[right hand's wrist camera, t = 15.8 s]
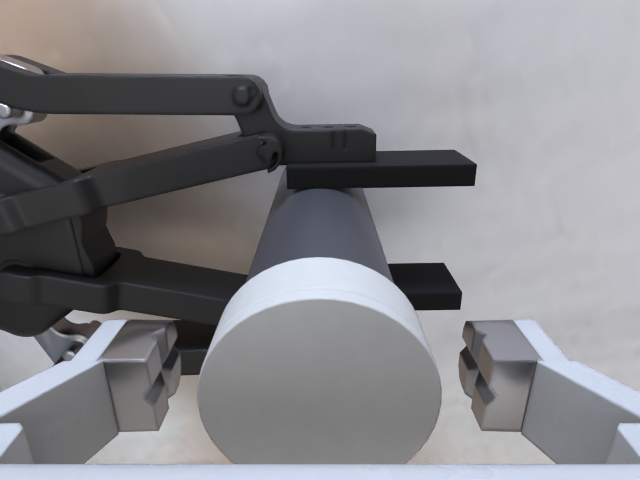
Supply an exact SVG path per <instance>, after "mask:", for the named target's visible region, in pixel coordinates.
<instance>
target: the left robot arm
mask: <svg viewBox="0 0 640 480" xmlns="http://www.w3.org/2000/svg"><path fill="white" fill-rule="evenodd" d="M47 114H141V115H235V117H236V120H237V122H238V124H239V126H240V129H241V131H239V132H235V133H231V134H227V135H223V136H219V137H215V138H211V139H207V140H203V141H199V142H195V143H191V144H187V145H182V146H178V147H174V148H170V149H166V150H162V151H158V152H154V153H150V154H146V155H142V156H138V157H134V158H130V159H125V160H121V161H112V162H108V163H104V164H100V165H96V166H92V167H88V168H84V169H80V170H77V169H75V168H73V167H72V166H70V165H68V164H67V163H65V162H63V161H62V160H60V159H58V158H57V157H55V156H53V155H52V154H50V153H48V152H47V151H45V150H43V149H42V148H40V147H38V146H37V145H35V144H33V143H32V142H30V141H28V140H27V139H25V138H23V137H22V136H20V135H18V134H17V133H15V129H16V127H17V126H18V125H26V124H31V123H36V122H40V121H42V120H44V119H45V118H46V116H47ZM279 165H287V167H286V176H287V189H329V188H384V187H440V186H474V185H475V177H476V168H477V164H475V163H474V162H472V161H471V160H469V159H468V158H466V157H465V156H463V155H462V154H460V153H459V152H457V151H455V150H420V151H376V134H375V133H374V131H373V130H372V129H370V128H368V127H365V126H363V125H360V124H333V125H331V124H326V125H292V124H289V123H286V122H285V121H283V120H282V119H281V118H280V117H279V116H278V114H277V112H276V110H275V107H274V105H273V102H272V100H271V98H270V95H269V91H268V86H267V84H266V83H265V81H264V80H263V79H262V78H260V77H259V76H256V75H234V74H103V73H65V72H62V71H59V70H57V69H54V68H51V67H49V66H46V65H43V64H40V63H38V62H35V61H32V60H30V59H27V58H24V57H21V56H16V55H0V329H1V330H3V331H6V332H9V333H11V334H14V335H17V336H22V337H31V336H34V337H35V339H36V340H37V341H38V343H39V344H40V345H41V347H42V348H43V349H44V350H45V352H46V353H47V354H48V356H49V357H50V358H51V359H52V361H53V362H54V363H55V364H54V365H57V364H59V363H61V362H63V361H71V360H72V359H73V358H74V356H75V355H76V354H77V353H78V352H79V350H80V349H81V348H82V347H83V346H84V345H85V343H86V342H87V341H88V340H89V339H90V337H91V336H92V335H93V334H94V333H95V332H96V330H97V329H98V328H99V327H100V326H101V323H100V322H99V321H95V320H94V321H91V322H90V323H83V324H76V323H72V322H70V321H68V320H67V319H66V318H65V316H66V315H67V314H69V313H70V312H71V311H73V310H80V311H86V312H92V313H98V314H106V313H111V312H114V311H117V310H126V311H132V312H138V313H144V314H150V315H156V316H162V317H168V318H174V319H180V320H173V322H174V323H175V324H176V329H177V335H178V337H177V339H176V341H175V343H174V345H173V346H174V347H175V348H176V349H177V350H178V351H179V352H180V355H181V375H200V371H201V368H202V365H203V362H204V360H205V357H206V355H207V352H208V349H209V347H210V344H211V342H212V339H213V337H214V334H215V331H216V329H217V326H218V324H219V321H220V319H221V316H222V314H223V312H224V310H225V308H226V306H227V305H228V303H229V301H230V300H231V298H232V297H233V296H234V295H235V294H236V292H237V291H238V290H239V289H240V288H241V287H242V286H243V285H244V284H245V283H246V280H247V277H248V275H244V274H238V273H232V272H227V271H221V270H215V269H210V268H204V267H198V266H192V265H187V264H181V263H175V262H170V261H164V260H158V259H153V258H147V257H144V256H143V255H142V253H141V252H139V251H137V250H132V249H126V248H121V247H115V243H114V241H113V239H112V237H111V235H110V233H109V231H108V229H107V227H106V220H107V207H108V206H113V205H117V204H121V203H125V202H129V201H134V200H138V199H142V198H146V197H151V196H155V195H159V194H163V193H167V192H172V191H176V190H180V189H184V188H189V187H193V186H197V185H201V184H205V183H210V182H214V181H218V180H222V179H227V178H231V177H235V176H239V175H243V174H248V173H252V172H256V171H260V170H265V169H268V173H270V172H272V171H274V170H275V169H276V168H277V167H278V166H279ZM388 267H389V270H390V273H391V276H392V279H393V282H394V284H395V285H396V286H397V287H398V288H399V289H400V290H401V291H402V292H403V294H404V295H405V296H406V297H407V299H408V300H409V302H410V303H411V304H412V306H413V308H414V310H460V307H461V298H462V292H461V290H460V288H459V287H458V285H457V284H456V282H455V280H454V279H453V277H452V275H451V274H450V272H449V271H448V269H447V267H446V266H445V264H444V263H404V264H388ZM54 365H53V366H54Z"/></svg>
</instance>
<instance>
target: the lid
mask: <svg viewBox="0 0 640 480" xmlns="http://www.w3.org/2000/svg"><path fill="white" fill-rule="evenodd" d="M441 394H442V389H441V381H440V376H439V373H438V369H437V366H436V363H435V360H434V358H433V355H432V353H431V350H430V347H429V345H428V342H427V340H426V337H425V334H424V332H423V329H422V327H421V324H420V321H419V319H418V316H417V314H416V312H415V310H414V308H413V306H412V304H411V303H410V302H409V300H408V299H407V297H406V296H405V295H404V294H403V292H402V291H401V290H400V289H399V288H398V287H397V286H396V285H395V284H393V283H392V282H391V281H390V280H388V279H387V278H386V277H384V276H383V275H381V274H379V273H378V272H376V271H374V270H372V269H370V268H368V267H365V266H363V265H361V264H358V263H354V262H351V261H348V260H342V259H336V258H325V257H313V258H302V259H297V260H292V261H288V262H285V263H281V264H278V265H275V266H273V267H271V268H269V269H267V270H265V271H263V272H261V273H259V274H258V275H256V276H255V277H253V278H252V279H250V280H249V281H248V282H247V283H246V284H244V285H243V286H242V287H241V288H240V289H239V290H238V291H237V292H236V294H235V295H234V296H233V297H232V298H231V300H230V301H229V303H228V305H227V306H226V308H225V310H224V312H223V314H222V316H221V319H220V321H219V324H218V326H217V329H216V331H215V334H214V337H213V339H212V342H211V344H210V347H209V349H208V352H207V355H206V357H205V360H204V362H203V365H202V368H201V371H200V375H199V379H198V387H197V400H198V408H199V412H200V416H201V420H202V422H203V425H204V427H205V430H206V431H207V433H208V435H209V437H210V438H211V440H212V441H213V443H214V444H215V445H216V447H217V448H218V449H219V450H220V451H221V452H222V453H223V454H224V455H225V456H226V457H227V458H228V459H229V460H230V461H231V462H232V463H234V464H405V463H406V462H408V461H409V460H410V459H411V458H412V457H413V456H414V455H415V454H416V453H417V452H418V451H419V450H420V449H421V448H422V446H423V445H424V444H425V442H426V441H427V440H428V438H429V436H430V435H431V433H432V431H433V429H434V427H435V424H436V422H437V419H438V416H439V411H440V406H441Z"/></svg>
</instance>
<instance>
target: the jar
mask: <svg viewBox="0 0 640 480" xmlns="http://www.w3.org/2000/svg"><path fill="white" fill-rule="evenodd" d="M313 257H325V258H336V259H342V260H348V261H351V262H354V263H358V264H361V265H363V266H365V267H368V268H370V269H372V270H374V271H376V272H378V273H379V274H381V275H383V276H384V277H386V278H387V279H388V280H390V281H391V282H392V283H393V284H394V282H393V279H392V276H391V273H390V270H389V267H388V264H387V261H386V258H385V255H384V252H383V249H382V246H381V243H380V240H379V237H378V234H377V231H376V228H375V225H374V222H373V219H372V216H371V213H370V210H369V207H368V204H367V201H366V198H365V195H364V192H363V189H362V188H329V189H287V176H286V168H285V170H284V172H283V175H282V177H281V180H280V183H279V186H278V189H277V192H276V195H275V198H274V201H273V204H272V207H271V210H270V213H269V216H268V218H267V221H266V224H265V227H264V230H263V233H262V236H261V239H260V242H259V245H258V248H257V251H256V254H255V257H254V260H253V263H252V266H251V268H250V271H249V274H248V277H247V280H246V283H247V282H248V281H249V280H250V279H252V278H253V277H255V276H256V275H258V274H259V273H261V272H263V271H265V270H267V269H269V268H271V267H273V266H275V265H278V264H281V263H285V262H288V261H292V260H297V259H302V258H313ZM246 283H245V284H246Z"/></svg>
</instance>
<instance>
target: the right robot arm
mask: <svg viewBox="0 0 640 480" xmlns="http://www.w3.org/2000/svg"><path fill="white" fill-rule="evenodd" d="M177 337H178V335H177V329H176V324H175V323H174V322H173V320H128V319H115V320H106V321H104V322H103V323H102V324H101V326H100V327H99V328H98V329H97V330H96V332H95V333H94V334H93V335H92V336H91V337H90V339H89V340H88V341H87V342H86V343H85V345H84V346H83V347H82V348H81V349H80V350H79V352H78V353H77V354H76V355H75V356H74V358H73V359H72V360H71V361H63V362H61V363H59V364H57V365H54V366H52V367H50V368H48V369H46V370H44V371H42V372H40V373H38V374H36V375H34V376H32V377H30V378H28V379H26V380H24V381H22V382H20V383H18V384H16V385H14V386H12V387H9V388H7V389H5V390H3V391H1V392H0V480H640V392H639V391H637V390H635V389H632V388H630V387H628V386H626V385H624V384H622V383H620V382H618V381H616V380H614V379H612V378H610V377H608V376H606V375H604V374H602V373H600V372H598V371H596V370H594V369H592V368H590V367H588V366H586V365H584V364H581V363H579V362H577V361H569V360H568V359H567V358H566V356H565V355H564V354H563V353H562V352H561V350H560V349H559V348H558V347H557V346H556V345H555V343H554V342H553V341H552V340H551V339H550V337H549V336H548V335H547V334H546V333H545V332H544V330H543V329H542V328H541V327H540V326H539V324H538V323H537V322H536V321H534V320H532V319H521V320H491V321H466V323H465V325H464V328H463V335H462V337H463V339H464V341H465V343H466V345H467V346H466V347H465V348H464V349H463V350H462V351H461V352H460V356H459V377H460V381H461V385H462V388H463V390H464V393H465V394H466V395H468V396H469V397H470V398H472V406H471V409H472V411H473V413H474V415H475V418H476V420H477V422H478V424H479V427H480V429H481V431H506V432H521V434H522V435H523V436H524V437H526V438H527V439H528V440H529V441H530V442H532V443H533V444H534V445H535V446H536V447H537V448H539V449H540V450H541V451H542V452H543V453H544V454H546V455H547V456H548V457H549V458H550V459H551V460H553V461H554V462H555V463H556V464H84V463H85V462H86V461H88V460H89V459H90V458H91V457H92V456H93V455H95V454H96V453H97V452H98V451H99V450H101V449H102V448H103V447H104V446H105V445H106V444H108V443H109V442H110V441H111V440H112V439H113V438H115V437H116V436H117V435H118V434H119V433H118V432H133V431H159V429H160V427H161V425H162V422H163V420H164V418H165V416H166V413H167V411H168V409H169V406H168V398H170V397H171V396H172V395H174V394H175V393H176V390H177V388H178V385H179V381H180V376H181V355H180V352H179V351H178V350H177V349H176V348H175V347H174V346H173V345H174V343H175V341H176V339H177Z"/></svg>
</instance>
